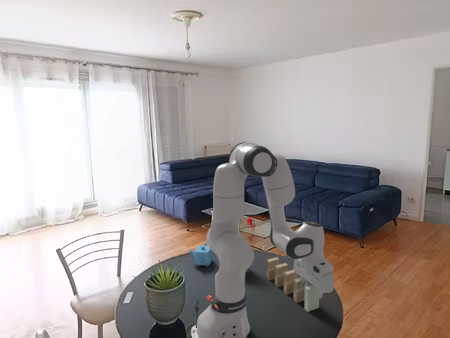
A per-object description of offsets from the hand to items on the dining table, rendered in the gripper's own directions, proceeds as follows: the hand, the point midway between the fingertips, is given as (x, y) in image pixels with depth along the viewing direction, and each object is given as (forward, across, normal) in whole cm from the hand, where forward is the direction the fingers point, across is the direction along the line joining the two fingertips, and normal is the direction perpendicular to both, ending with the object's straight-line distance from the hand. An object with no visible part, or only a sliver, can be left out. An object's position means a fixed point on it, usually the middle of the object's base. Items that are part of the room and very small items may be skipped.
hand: (311, 291), depth 127 cm
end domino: (+8, 0, 0) cm, 8 cm away
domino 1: (+8, -28, 0) cm, 29 cm away
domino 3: (+8, -14, 0) cm, 16 cm away
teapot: (+8, -60, -25) cm, 65 cm away
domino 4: (+8, -7, 0) cm, 10 cm away
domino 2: (+8, -21, 0) cm, 22 cm away
